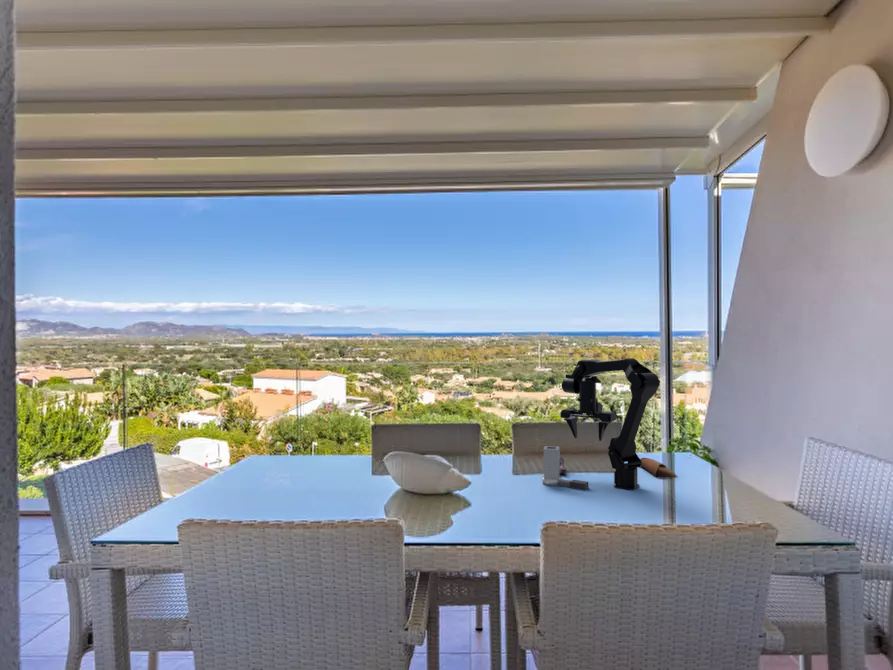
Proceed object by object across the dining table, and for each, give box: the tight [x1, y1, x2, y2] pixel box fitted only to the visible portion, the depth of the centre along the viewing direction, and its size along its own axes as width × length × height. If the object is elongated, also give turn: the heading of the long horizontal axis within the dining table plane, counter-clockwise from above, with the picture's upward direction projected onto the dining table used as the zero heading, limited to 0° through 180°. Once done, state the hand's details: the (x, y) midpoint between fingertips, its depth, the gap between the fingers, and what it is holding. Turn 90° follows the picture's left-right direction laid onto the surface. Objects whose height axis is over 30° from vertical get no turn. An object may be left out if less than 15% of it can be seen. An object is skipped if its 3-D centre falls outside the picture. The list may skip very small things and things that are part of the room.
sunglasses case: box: [640, 457, 678, 478], centre depth 217 cm, size 18×7×7 cm
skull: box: [559, 455, 567, 476], centre depth 218 cm, size 12×8×6 cm, turn 3°
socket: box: [543, 445, 561, 480], centre depth 202 cm, size 5×5×10 cm
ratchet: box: [541, 475, 589, 491], centre depth 199 cm, size 16×6×4 cm, turn 53°
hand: (588, 439), depth 211 cm, fingers open, 9 cm apart
